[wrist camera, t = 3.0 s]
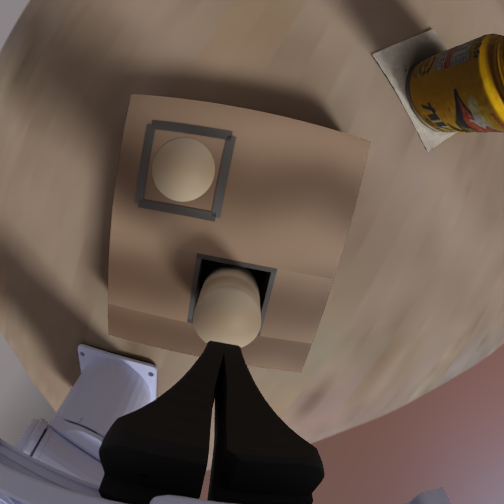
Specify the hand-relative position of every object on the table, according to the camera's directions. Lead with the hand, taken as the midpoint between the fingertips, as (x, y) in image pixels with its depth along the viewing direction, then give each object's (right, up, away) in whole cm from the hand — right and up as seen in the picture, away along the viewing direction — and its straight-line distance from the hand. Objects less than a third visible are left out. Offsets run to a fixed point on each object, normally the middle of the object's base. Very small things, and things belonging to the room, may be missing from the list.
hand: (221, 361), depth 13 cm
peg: (0, +2, +7) cm, 7 cm away
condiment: (+15, +18, +6) cm, 24 cm away
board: (0, +6, +9) cm, 11 cm away
